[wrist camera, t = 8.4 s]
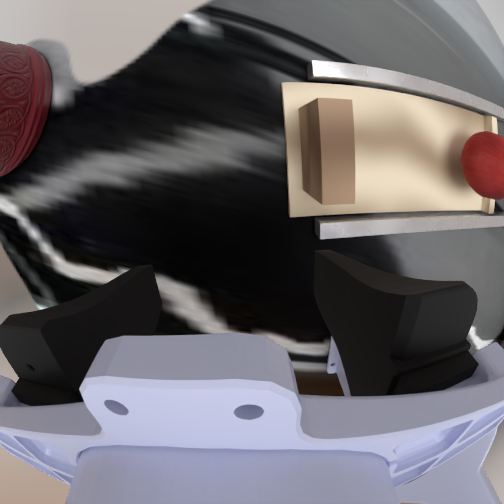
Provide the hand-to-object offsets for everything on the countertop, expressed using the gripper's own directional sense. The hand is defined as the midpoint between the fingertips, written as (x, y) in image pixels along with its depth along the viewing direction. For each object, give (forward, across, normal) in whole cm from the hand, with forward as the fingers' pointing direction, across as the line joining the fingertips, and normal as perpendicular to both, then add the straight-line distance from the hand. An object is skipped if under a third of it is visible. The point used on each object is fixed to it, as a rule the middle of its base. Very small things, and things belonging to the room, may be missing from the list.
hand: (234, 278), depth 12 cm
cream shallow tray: (+9, -15, -5) cm, 18 cm away
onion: (+9, -21, -5) cm, 24 cm away
